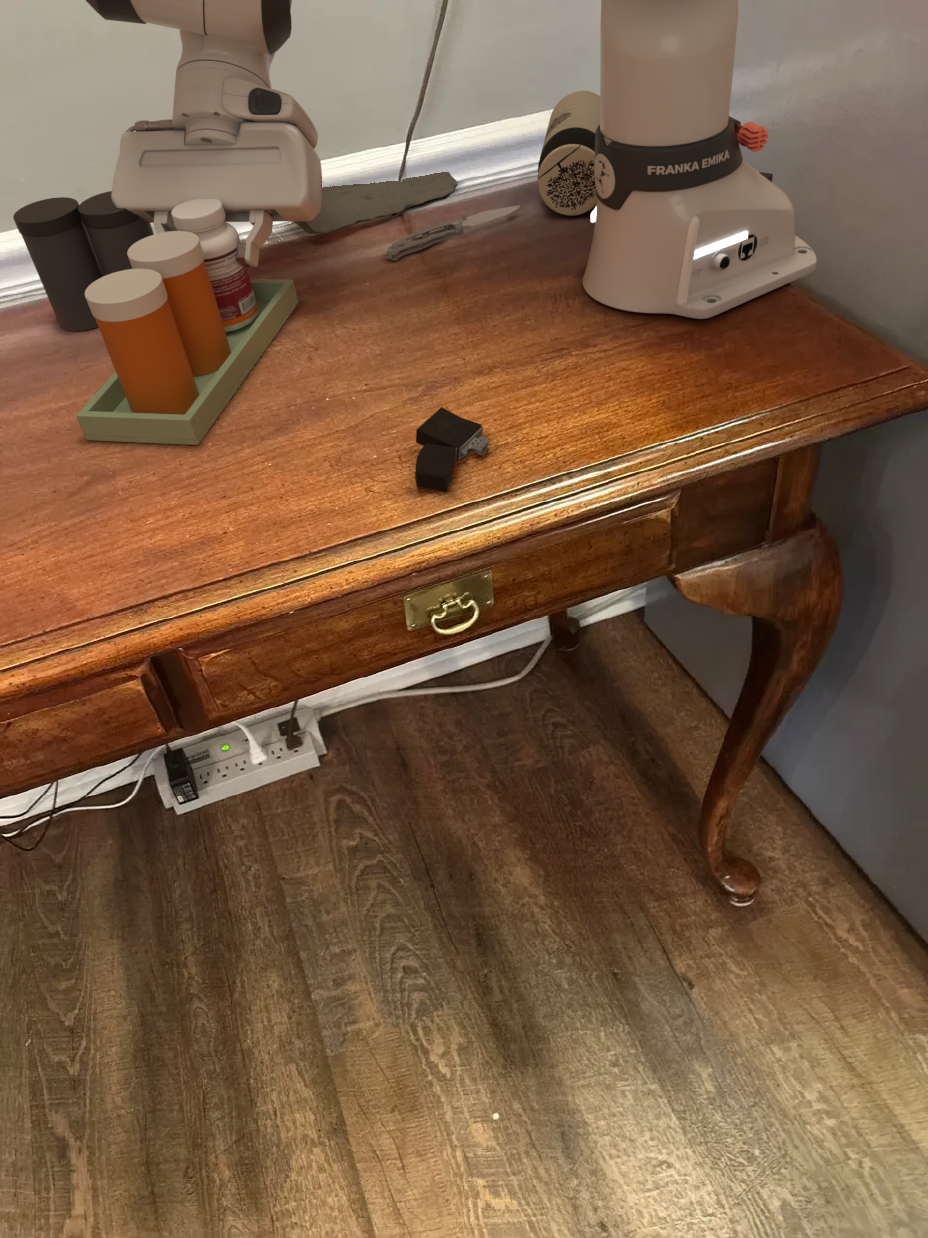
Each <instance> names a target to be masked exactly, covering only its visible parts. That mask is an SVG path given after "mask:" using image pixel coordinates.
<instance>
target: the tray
mask: <svg viewBox="0 0 928 1238" xmlns="http://www.w3.org/2000/svg"><path fill="white" fill-rule="evenodd" d="M250 280H251V284H252V288H253V291H254V295H255V299H256V302H257V307H258V314H257V317H256V318H255V319H254V320H253V321H252V322H251V323H250V324H248V325H246V326H244V327H242V328H240V329H237V330H234V331H230V332H225V333H226V336H227V339H228V343H229V346H230V350H231V354H230V355H229V357H228V358H227V359H226V361H225V362H224V363H223V365H222V366H221V367H220V369H219V370H217V371H215V372H213V373H210V374H207V375H203V376H198V377H194V380H195V383H196V386H197V389H198V392H199V397H198V398H197V399H196V401H195V402H194V403H193V405H192V406H191V407H190V409H189V410H188V411H187V413H186V414H185V415H180V414H153V413H132V411H131V408H130V406H129V403H128V401H127V398H126V396H125V393H124V391H123V388H122V386H121V383H120V380H119V378H118V375H117V373H116V370H115V371H114V372H113V373H112V374H111V376H110V377H109V378H108V379H107V380H106V381H105V382H104V384H103V385H102V386H101V387H100V388H99V389H98V391H96V392H95V393H94V394H93V396H92V397H91V398H90V399H89V400H88V401H87V402H86V403H85V405H84V406H83V407H81V409H80V411H78V413H76V415H75V416H76V419H77V421H78V423H79V426H80V429H81V430H82V433H83V435H84V437H85V440H86V441H94V442H95V441H97V442H99V441H100V442H117V443H119V442H121V443H140V444H141V443H143V444H163V445H165V444H166V445H188V446H199V445H200V444H201V442H202V440H204V438H205V436H206V435H207V434H208V432H209V431H210V429H211V428H212V426H213V425H214V423H215V422H216V421H217V419H218V418H219V416H220V415H221V414H222V413H223V411H224V409H225V408H226V406H227V405H228V403H229V402H230V401H231V399H232V398H233V397H234V395H235V394H236V392H237V391H238V390H239V388H240V387H241V385H242V384H243V382H244V381H245V379H246V378H247V377H248V375H249V374H250V372H251V371H252V370H253V368H254V366H255V365H256V364H257V363H258V361H259V360H260V358H261V357H262V356H263V354H264V352H265V351H266V350H267V348H268V347H269V345H270V344H271V342H272V341H273V340H274V339H275V337H276V336H277V334H278V333H279V331H280V330H281V329H282V327H283V326H284V324H285V323H286V321H287V320H288V318H289V317H290V316H291V315H292V313H293V311H294V310H295V308H296V307H297V306H298V305H299V303H300V302H299V298H298V294H297V290H296V285H295V281H294V279H250Z"/></svg>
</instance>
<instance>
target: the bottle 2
mask: <svg viewBox="0 0 928 1238" xmlns="http://www.w3.org/2000/svg"><path fill="white" fill-rule="evenodd" d="M167 296H168V295H167V292H166V289H165V286H164V283H163V280H162V277H161V275H160V274H159V273H158V272H156V271H154V270H150V269H128V270H123V271H118V272H115V273H111V274H109V275H106V276H104V277H102V278H100V279H98V280H96V281H94V282H93V283H92V284H90V285H89V286H88V287H87V289H86V291H85V298H86V300H87V303H88V305H89V308H90V310H91V313H92V315H93V316H94V317H95V319H96V322H97V325H98V327H97V328H98V330H99V332H100V335H101V337H102V339H103V342H104V345H105V347H106V350H107V352H108V355H109V357H110V360H111V363H112V365H113V368H114V370H115V371H116V373H117V375H118V378H119V380H120V383H121V386H122V388H123V391H124V393H125V396H126V398H127V401H128V403H129V406H130V408H131V411H132V413H153V414H180V415H185V414H186V413H187V411H188V410H189V409H190V407H191V406H192V405H193V403H194V402H195V401H196V399H197V398H198V397H199V392H198V389H197V386H196V383H195V380H194V377H193V374H192V371H191V368H190V365H189V362H188V359H187V356H186V353H185V350H184V347H183V344H182V341H181V338H180V335H179V332H178V329H177V326H176V323H175V320H174V317H173V314H172V311H171V308H170V305H169V302H168V299H167Z"/></svg>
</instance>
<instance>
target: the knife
mask: <svg viewBox="0 0 928 1238" xmlns="http://www.w3.org/2000/svg"><path fill="white" fill-rule="evenodd" d="M520 207H521V205H520V204H519V205H512V206H506V207H503V208H502V207H501V208H495V209H494V208H493V209H488V210H484V211H481V212H478V213H475V214H472V215H469V216H467V215H466V213H461V218H460V219H458V218H457V219H455V218H453V219H450V220H445V221H442V222H440V223H436V224H434V225H431V226H428V227H425V228H422V229H419V230H416V231H414V232H412V233H410V234H409V233H408V234H406V235H405V236H403V237H401V238H400V239H397V241H395V242H394V243H391V244H390V245H389V247H388V248H386V251H385V254H386V257H385V258H386V260H388V261H393V262H396V261H399V259H401V258H402V257H404V256H407V255H410V254H413V253H416V252H418V251H421V250H424V249H427V248H429V247H430V246H433V245H434V244H438V243H440V242H442V241H443V239H445V238H446V237H451V236H462V235H463V234H464V230H471V229H472V227H475V226H478V225H481V224H484V223H486V222H490V221H493V220H495V219H498V218H501V217H504V216H507V215H509V214H511V213H513V212H516V211H517V210H519V208H520Z"/></svg>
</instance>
